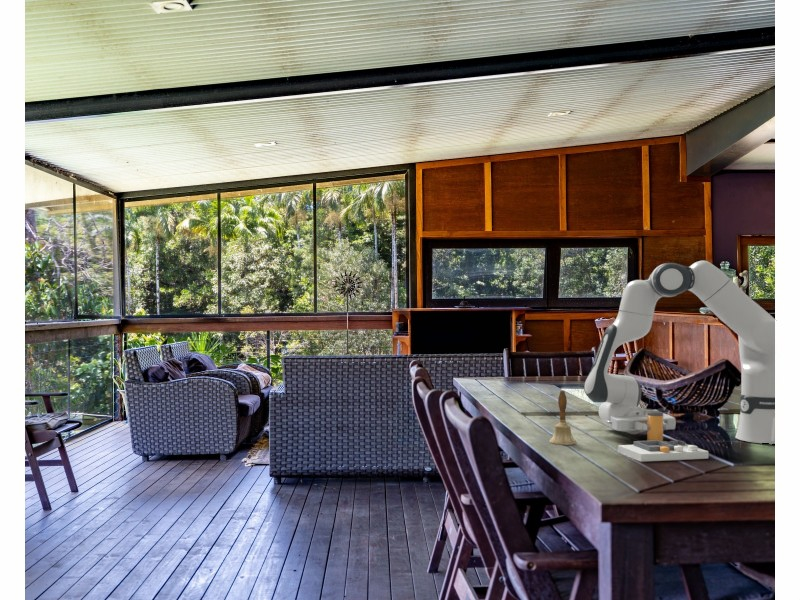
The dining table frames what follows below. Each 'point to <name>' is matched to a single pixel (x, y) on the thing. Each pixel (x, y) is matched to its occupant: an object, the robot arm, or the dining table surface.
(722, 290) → the robot arm
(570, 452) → the dining table surface
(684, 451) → the board
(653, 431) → the orange capped cylinder
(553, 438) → the hand bell
